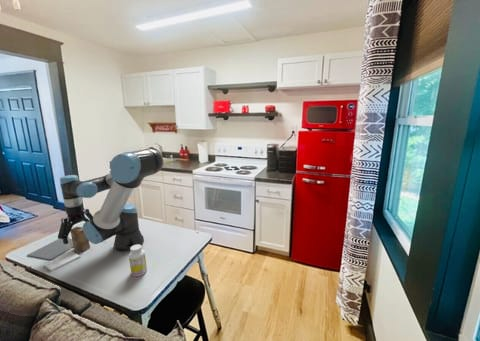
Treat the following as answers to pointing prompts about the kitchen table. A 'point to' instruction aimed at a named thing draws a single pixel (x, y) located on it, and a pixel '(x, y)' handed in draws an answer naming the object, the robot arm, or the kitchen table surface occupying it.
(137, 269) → the supplement bottle
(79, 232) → the brown box
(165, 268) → the kitchen table surface
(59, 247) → the mat
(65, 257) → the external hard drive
